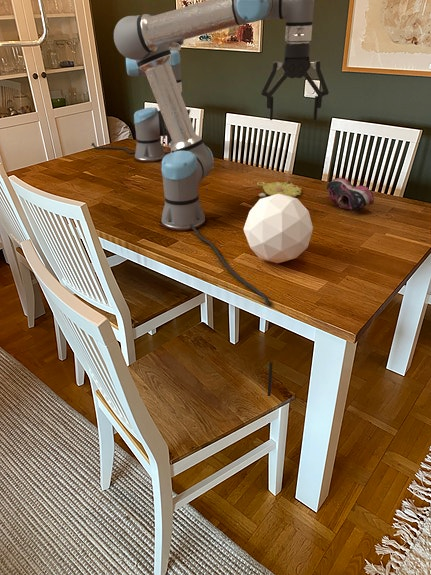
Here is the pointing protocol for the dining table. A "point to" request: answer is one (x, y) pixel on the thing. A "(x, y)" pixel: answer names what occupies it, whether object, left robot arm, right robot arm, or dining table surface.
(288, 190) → the decorative object
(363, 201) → the athletic shoe
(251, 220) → the sphere
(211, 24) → the right robot arm
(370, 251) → the dining table surface
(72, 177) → the dining table surface
